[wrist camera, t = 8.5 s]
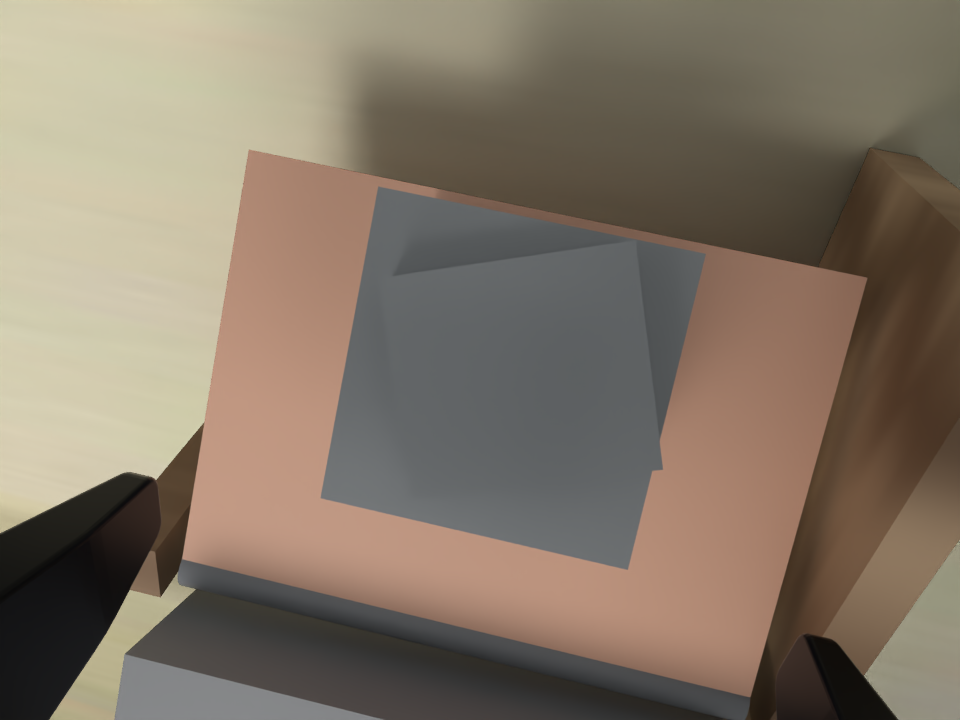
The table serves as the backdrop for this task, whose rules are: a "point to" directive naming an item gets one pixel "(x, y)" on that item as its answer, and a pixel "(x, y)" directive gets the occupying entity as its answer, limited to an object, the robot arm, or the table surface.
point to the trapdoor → (469, 557)
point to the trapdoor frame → (831, 433)
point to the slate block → (509, 375)
